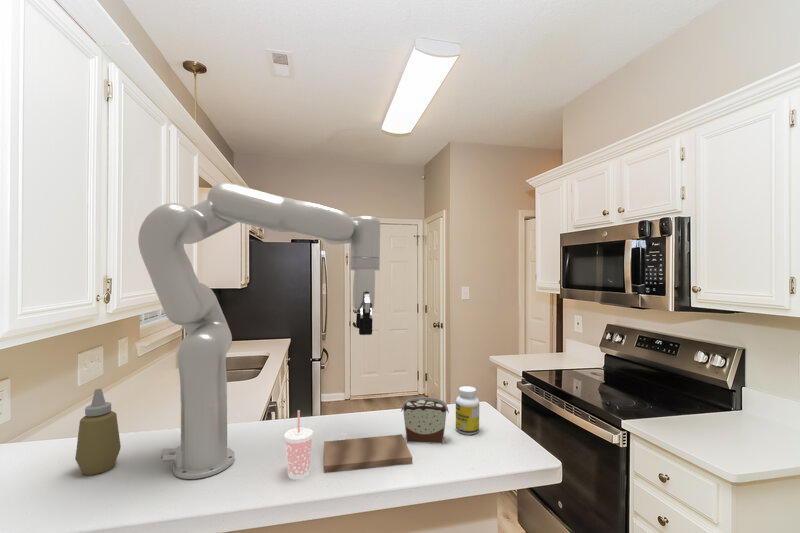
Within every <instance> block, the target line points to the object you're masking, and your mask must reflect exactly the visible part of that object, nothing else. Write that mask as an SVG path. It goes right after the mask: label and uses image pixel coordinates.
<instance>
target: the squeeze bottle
mask: <svg viewBox="0 0 800 533" xmlns="http://www.w3.org/2000/svg"><path fill="white" fill-rule="evenodd" d="M117 416H118V415H117V412H115V411H113V410H112V403H111V402H109V401H106V399H105V396H104V393H103V389H102V388H96V389H94V392H93V396H92V401H91V404H89V405H88V406H85V408H84V416H83V417H82V418H81V419H80V420H79V426H78V434H77V435H78V436H77V443H76V449H75V458H74V459H75V462H76V464H77V466H78V468H79V469H80V472H81V473H82V474H83V475H86V476H92V475H98V474H101V473H104V472H107V471H109V470H111V469H112V468H114V466H115V465H116V462H117V459H118V458H119V454H120V450H121V439H120V432H119V424H118V423H119V422H118V417H117Z"/></svg>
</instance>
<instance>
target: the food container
mask: <svg viewBox="0 0 800 533" xmlns="http://www.w3.org/2000/svg"><path fill="white" fill-rule="evenodd" d="M402 411H403V419H404V420H403V421H404V428H405V438H406V440H405V441H406V444H408V443H410V444H411V443H412V444H432V445H443V444H444V438H445V429H446V419H447V414H449V412H450V411H449V408H448V405H447V403H446V402H445V401H444V400H441V399H440V398H435V397H429V396H418V397H412V398H408V399H406V400H405V401H404V402H402V406H401V411H400V412H402Z"/></svg>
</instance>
